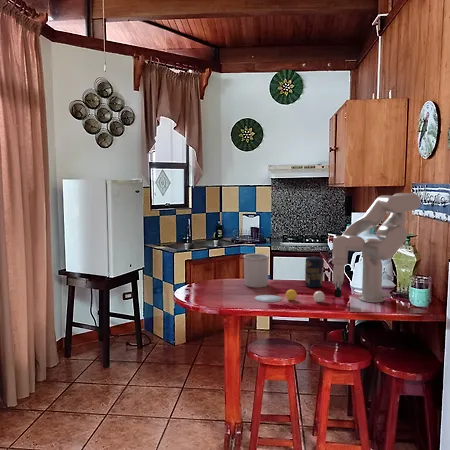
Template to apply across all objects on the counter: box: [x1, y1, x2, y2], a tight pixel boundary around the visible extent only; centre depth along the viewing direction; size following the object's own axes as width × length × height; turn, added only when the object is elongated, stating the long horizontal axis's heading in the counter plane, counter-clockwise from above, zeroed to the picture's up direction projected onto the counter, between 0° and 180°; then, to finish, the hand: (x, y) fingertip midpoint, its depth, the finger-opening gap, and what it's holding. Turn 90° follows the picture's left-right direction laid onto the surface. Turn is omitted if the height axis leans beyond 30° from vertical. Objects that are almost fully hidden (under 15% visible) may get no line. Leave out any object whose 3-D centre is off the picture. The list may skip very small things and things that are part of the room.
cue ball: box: [313, 290, 326, 303], centre depth 228 cm, size 6×6×6 cm
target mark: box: [254, 294, 283, 303], centre depth 235 cm, size 14×14×1 cm
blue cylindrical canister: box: [304, 255, 323, 288], centre depth 261 cm, size 10×10×18 cm
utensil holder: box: [243, 253, 270, 288], centre depth 265 cm, size 15×15×18 cm
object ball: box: [285, 289, 298, 301], centre depth 232 cm, size 6×6×6 cm
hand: (337, 296), depth 225 cm, fingers closed
